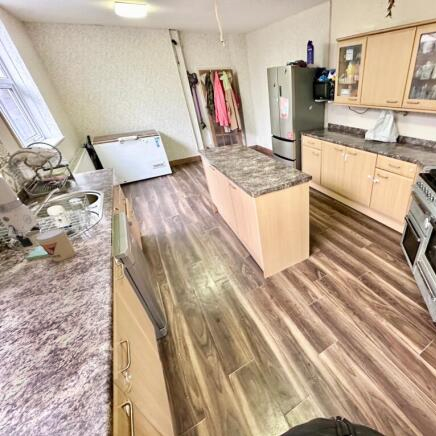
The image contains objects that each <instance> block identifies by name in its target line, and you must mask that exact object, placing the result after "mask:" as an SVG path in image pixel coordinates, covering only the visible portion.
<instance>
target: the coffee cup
mask: <svg viewBox="0 0 436 436" xmlns="http://www.w3.org/2000/svg"><path fill="white" fill-rule="evenodd" d="M36 241H37V242H38V243H39V244H38V245H40V246H42V247H43V249H44V250H45V251H46V252H47V253H48V254H49V257H50V258H51V259H52V260H53V262H61V261H64V260H67V259H69V258H72V257H73V256H75V254H76V249H75V248H74V246H73V244H72V242H71V240H70V238H69V236H68V234H67V232H66V230H65V229H64V228H60V227H57V228H52V229H49V230H46V231H42V233H41V234H39V235H38V236H37V237H36Z"/></svg>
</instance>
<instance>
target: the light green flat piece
mask: <svg viewBox="0 0 436 436" xmlns="http://www.w3.org/2000/svg"><path fill="white" fill-rule="evenodd" d="M47 257H50V256H49V254H48V253H47V252H46V251H45V250H44V249H43V247H42V246H41V245H40V246H39V245H38V246H37V247H36V248H35V249H34V250H33V251H31V252H30V253H29V254H28V255H27V256H26V257H25V259H26V261H31V260H32V261H33V260H36V259H42V258H47Z"/></svg>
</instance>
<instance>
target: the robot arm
mask: <svg viewBox="0 0 436 436" xmlns="http://www.w3.org/2000/svg"><path fill="white" fill-rule="evenodd" d="M0 220H1V223H2V224H3V226H4V227H5V229H6V230H7V232H8V233H7V238H10V239H13V240H16V241H18V242H19V244H21V246H22V247H23V248H27V247H28V246H30V247H33V246H32V245H33V244H32V242H31V241H30V240H29V238H26V235H25V233H27V232H30V231H34V230H40V231H41V232H42V233H43V231H42V229H41V227H40V225H39V218H38V217H37V216H35V214H34V213H33V212H32V210H31V209H30V208H29V207H28V206H27V205H26V204H24V203H22V201H21V200H20V198H19V197H18V195H17V193H16V192H15V191H14V190H13V188H12V186H11V185H10V184H9V182H8V181H7V179H6V178H5V177H4V176H3V175H1V174H0ZM21 235H22V236H21Z"/></svg>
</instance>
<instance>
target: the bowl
mask: <svg viewBox="0 0 436 436" xmlns="http://www.w3.org/2000/svg"><path fill="white" fill-rule="evenodd" d="M40 230H41V229H40ZM40 230H34V231H30V230H29V231H27V232H25V235H26V238H29V240H30V241H31V242H32V244H33V245H32V246H28V247H30V248H31V247H35V246H39V245H40V244H39V243H38V242H37V241H36V237H37V236H38V235H39V234H41V233H43V231H42V230H41V231H42V232H41V231H40ZM20 236H22V235H21V234H20Z"/></svg>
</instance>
